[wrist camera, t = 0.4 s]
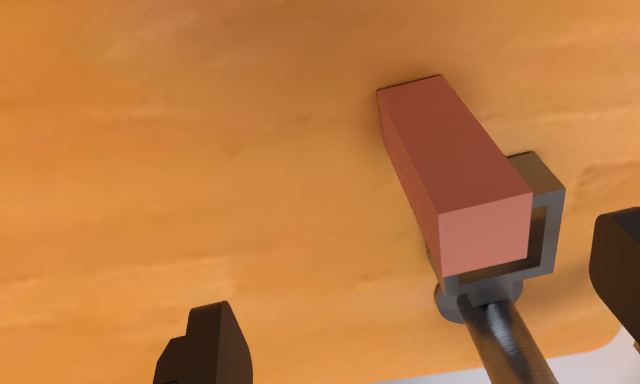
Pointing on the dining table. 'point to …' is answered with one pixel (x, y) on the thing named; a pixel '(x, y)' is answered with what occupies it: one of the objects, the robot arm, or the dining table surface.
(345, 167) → the dining table surface
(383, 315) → the dining table surface
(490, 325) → the grey stand
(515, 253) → the red rectangular block
